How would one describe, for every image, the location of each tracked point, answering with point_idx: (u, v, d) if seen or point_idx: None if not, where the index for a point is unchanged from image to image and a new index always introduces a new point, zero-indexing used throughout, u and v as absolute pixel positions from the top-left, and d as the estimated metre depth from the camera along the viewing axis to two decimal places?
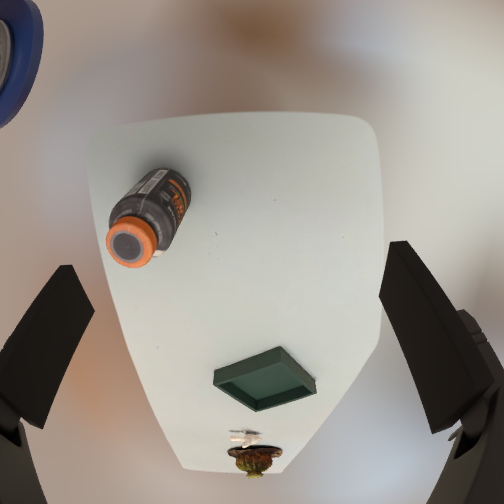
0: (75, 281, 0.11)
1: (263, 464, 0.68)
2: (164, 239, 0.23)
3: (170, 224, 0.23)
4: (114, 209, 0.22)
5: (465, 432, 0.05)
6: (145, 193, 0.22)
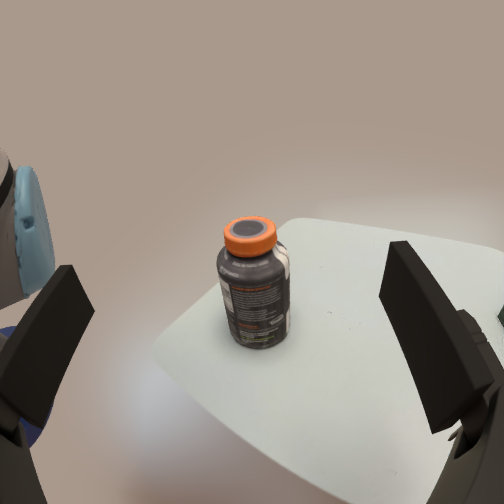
0: (75, 281, 0.11)
1: None
2: None
3: None
4: (218, 257, 0.23)
5: (465, 432, 0.05)
6: None
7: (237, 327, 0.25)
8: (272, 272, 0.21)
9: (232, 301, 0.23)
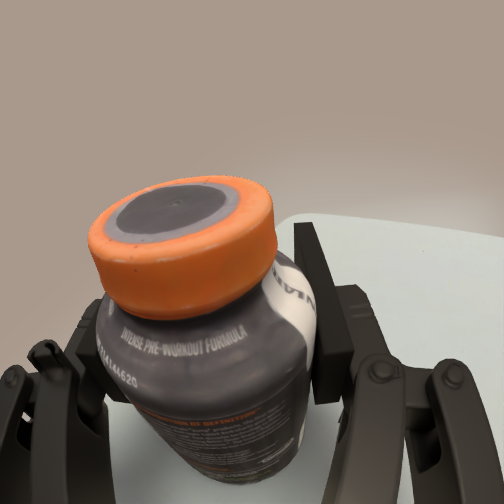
0: None
1: None
2: None
3: None
4: None
5: (346, 413, 0.07)
6: None
7: (182, 457, 0.08)
8: (262, 375, 0.05)
9: (151, 425, 0.07)
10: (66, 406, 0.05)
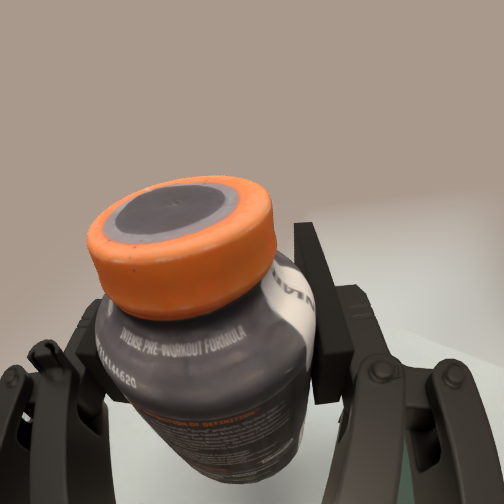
0: None
1: None
2: None
3: None
4: (100, 304, 0.07)
5: (346, 413, 0.07)
6: None
7: (181, 457, 0.08)
8: (261, 376, 0.05)
9: (150, 425, 0.07)
10: (66, 406, 0.05)
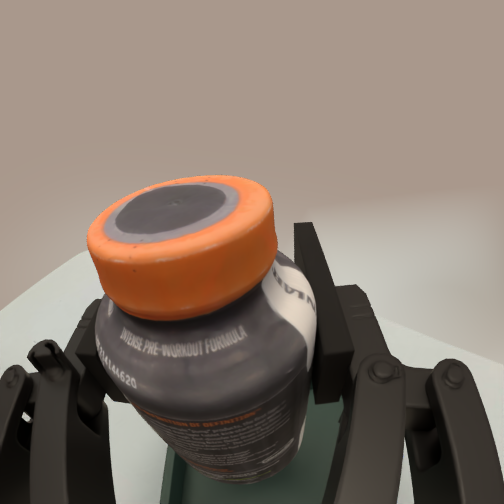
0: None
1: None
2: None
3: None
4: (100, 304, 0.07)
5: (346, 413, 0.07)
6: None
7: (181, 457, 0.08)
8: (262, 376, 0.05)
9: (151, 425, 0.07)
10: (66, 406, 0.05)
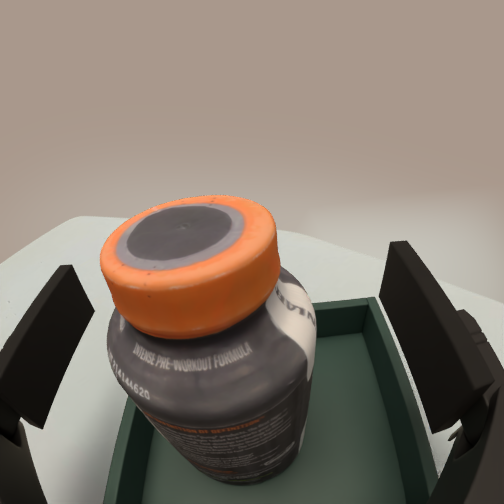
0: (75, 281, 0.11)
1: None
2: None
3: None
4: (111, 318, 0.07)
5: (465, 432, 0.05)
6: None
7: None
8: (266, 388, 0.05)
9: (160, 431, 0.07)
10: None
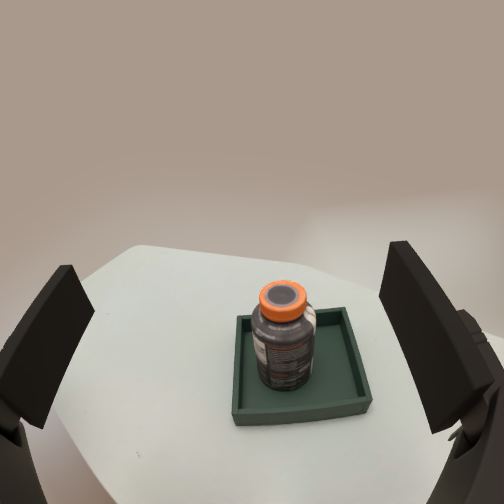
0: (75, 281, 0.11)
1: None
2: None
3: None
4: (253, 319, 0.25)
5: (465, 432, 0.05)
6: None
7: (268, 375, 0.27)
8: (304, 333, 0.23)
9: (266, 356, 0.25)
10: None
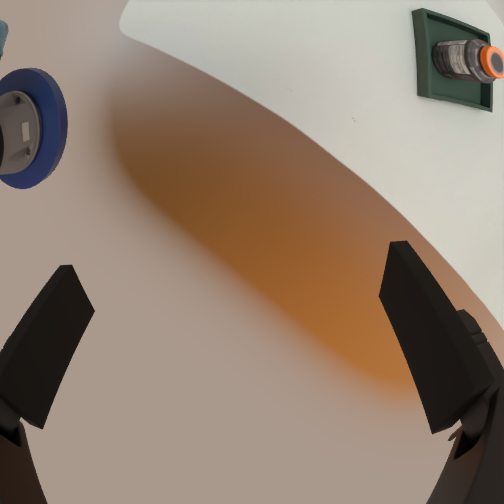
0: (75, 281, 0.11)
1: None
2: None
3: None
4: (470, 57, 0.19)
5: (465, 432, 0.05)
6: (466, 40, 0.19)
7: (448, 72, 0.25)
8: (492, 81, 0.20)
9: (462, 74, 0.23)
10: None
